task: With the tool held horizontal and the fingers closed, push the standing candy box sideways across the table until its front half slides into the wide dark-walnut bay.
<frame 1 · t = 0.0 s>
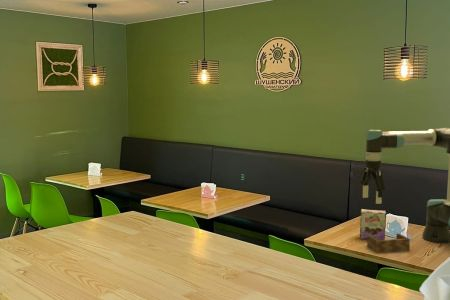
hand: (371, 200, 237), 28 cm above the table, tool pointing down, fingers open, 13 cm apart
candy box: (372, 238, 264), on the table
bay: (387, 247, 248), on the table
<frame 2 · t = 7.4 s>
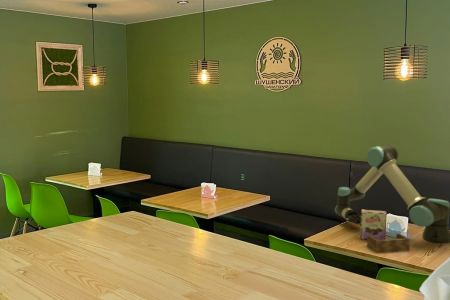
hand: (368, 225, 266), 7 cm above the table, tool horizontal, fingers closed
candy box: (372, 239, 263), on the table, touching gripper
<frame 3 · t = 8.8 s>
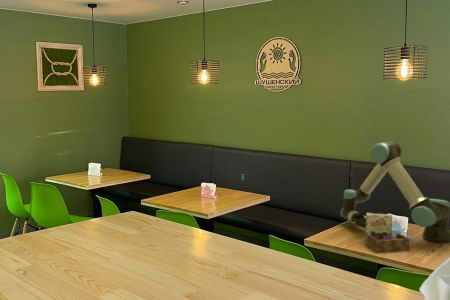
hand: (376, 229, 258), 7 cm above the table, tool horizontal, fingers closed
candy box: (377, 243, 256), on the table, touching gripper
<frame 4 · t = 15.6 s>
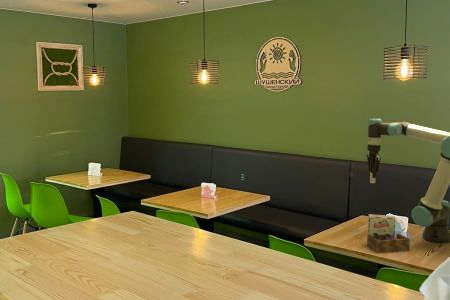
hand: (372, 182, 277), 29 cm above the table, tool pointing down, fingers closed
candy box: (380, 245, 253), on the table
at the end: candy box inside the target area (2.2 cm from its centre), on the table; candy box tilted 0°; candy box moved 11.2 cm from its start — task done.
